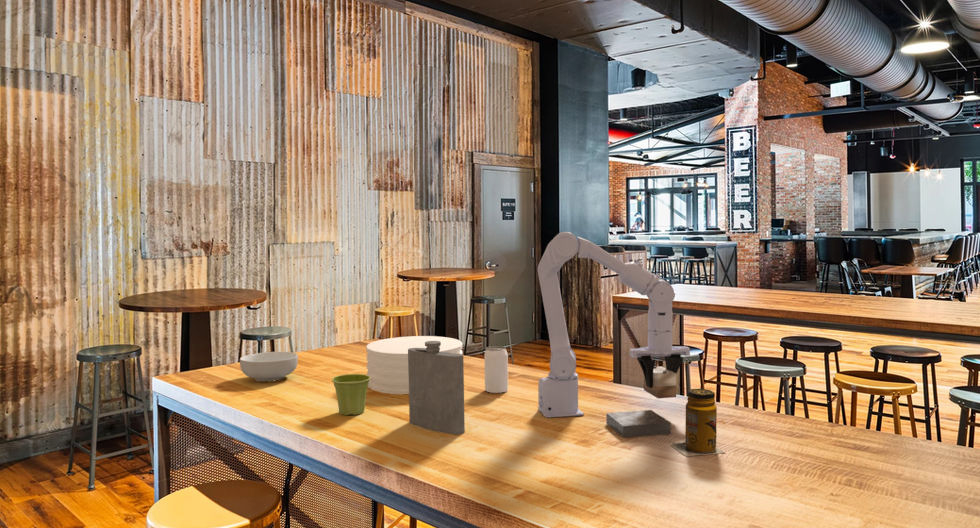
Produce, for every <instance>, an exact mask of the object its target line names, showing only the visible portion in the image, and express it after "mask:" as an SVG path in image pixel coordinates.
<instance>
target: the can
mask: <svg viewBox="0 0 980 528" xmlns="http://www.w3.org/2000/svg"><path fill="white" fill-rule="evenodd" d="M507 351H508V350H507V347H505V346H501V345H500V346H497V345H496V346H495V345H492V346H488V347H486V348H485V352H484V358H483V359H484V390H485V392H486V391H487V392H486V393H488V392H490V393H489V394H494V393H499V394H503V393H502V392H505V393H507V392H506V391H508V390H509V358H508V357H509V354H508V352H507Z"/></svg>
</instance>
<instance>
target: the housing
mask: <svg viewBox="0 0 980 528" xmlns="http://www.w3.org/2000/svg"><path fill="white" fill-rule="evenodd" d="M643 391H644V392H646V393H648V394H649V395H651V396H653V397H655V398H656V399H669V398H677V374H676V373H674V372H672V371H670V370H668V369H666V367H663V366H656V365H654V369H653V388H649V387H647V386H646V381H645V377H644V376H643Z"/></svg>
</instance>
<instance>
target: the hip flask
mask: <svg viewBox="0 0 980 528" xmlns="http://www.w3.org/2000/svg"><path fill="white" fill-rule="evenodd" d="M440 345H441V342H440V341H427V342H425V346H427V348H409V349H408V374H409V395H408V405H409V406H408V407H409V408H408V410H409V411H408V412H409V414H408V415H409V417H408V418H409V424H410V425H413V426H415V427H419V428H421V429H426V430H429V431H432V432H433V431H434V432H438V433H442V434H448V435H454V436H457V435H463V434H465V433H466V431H465V422H466V421H465V381H464V378H465V375H464V374H465V373H464V369H465V368H464V367H465V366H464V365H465V364H464V354H456V353H447V352H439V350H440V347H439V346H440Z"/></svg>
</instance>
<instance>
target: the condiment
mask: <svg viewBox="0 0 980 528" xmlns="http://www.w3.org/2000/svg"><path fill="white" fill-rule="evenodd" d="M715 396H716V394H715V392H714V391H713V390H710V389H708V388H707V389H706V388H691V389H689V390H688V391H687V399H686V400H687V402H686V403H685V434H684V435H685V441H684V442H672V443H669V445H670V446H671V447H672V448H674V449H675V450H676V451H678V452H679V453H681V454H682V455H684V456H686V457H695V456H706V455H707V456H708V455H709V456H710V455H718V454H725V453H726V452H725V451H724V450H722V449H720V448H718V447H717V434H718V433H717V418H718V417H717V412H718V411H717V410H718V409H717V404H715V403H716V400H715V398H716V397H715Z"/></svg>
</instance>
